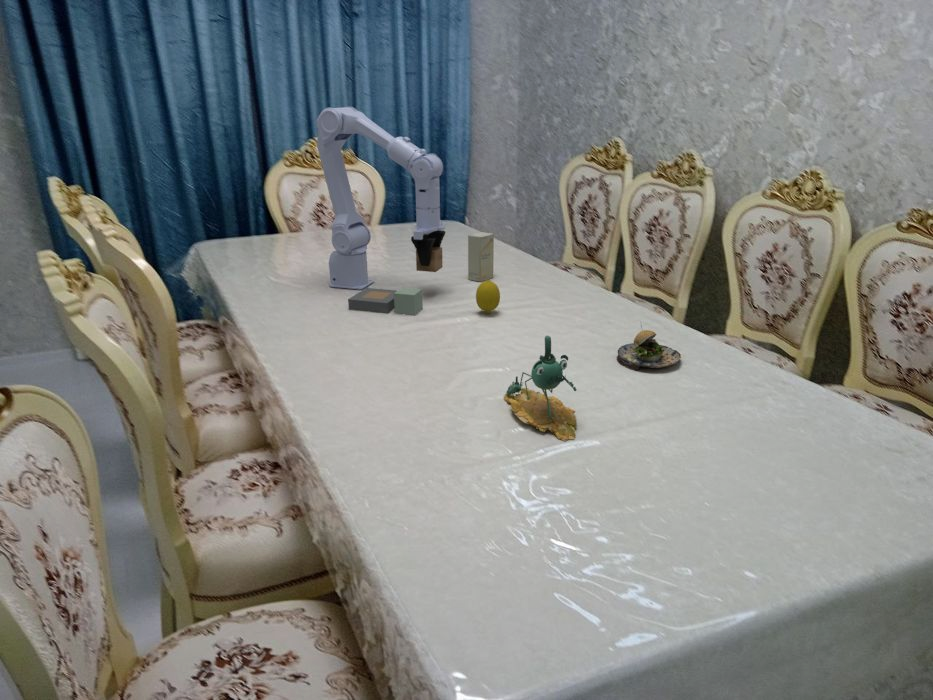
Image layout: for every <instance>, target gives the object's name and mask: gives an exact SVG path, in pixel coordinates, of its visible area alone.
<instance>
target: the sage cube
mask: <svg viewBox="0 0 933 700" xmlns="http://www.w3.org/2000/svg"><path fill="white" fill-rule="evenodd" d="M423 305H424V304H423V288H415V287H413V288H412V287H405V286H402V287H401V288H399V289H398V290H397V291H396V292H395V293H394V308H395V309H394V314H395V315H403V314H405V316H412V315H413V316H417V315H418V314H419V313H420V312H421V311H422V310H423V309H424V307H423Z"/></svg>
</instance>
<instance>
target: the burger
mask: <svg viewBox="0 0 933 700" xmlns="http://www.w3.org/2000/svg"><path fill="white" fill-rule="evenodd" d="M640 323H642V322H641V321H640ZM640 326H641V328H643V325H642V324H640ZM641 330H642V331H639V332H638V333H637V334H636V336H635V337H634V339H633V342H632V343H627V344H623V345H621V346H620V347H619V348H618V350H617V356H616V361H617V363H618V364H619V365H620V366H622V367H625V368H626V369H630V370H632V371H636V372H637V370H638V369H639V368H640V367H642V368H651V369H660V368H661V369H662V368H665V367H670V366H672V365H674V364H676V363H678V362H680V359H681V358H682V355H681V353H680V352H678V350H675V349H673V348H671V347H669V346H666V345H663V344H659V343H658V341H657V339H656V338H655V337H656V336H657V333H656V331H655V332H654V331H653V330H649V329H645V330H643V329H641Z"/></svg>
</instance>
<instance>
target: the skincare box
mask: <svg viewBox="0 0 933 700" xmlns="http://www.w3.org/2000/svg"><path fill="white" fill-rule="evenodd" d="M494 235H495V234H494V233H491V232H484V231H480V232H476V233H473V234H472V233H471V234H468V235H467V241H468V243H467V245H468V246H467V248H468V250H467V252H468V253H467V255H468V256H467V257H468V258H467V264H468V265H467V269H468V273H467V274H468V275H467V278H468V280H470V281H473V282H481V283H482V282H485V281H486V280H490V279H492V278H494V244H495V243H494V239H495V238H494V237H495V236H494Z"/></svg>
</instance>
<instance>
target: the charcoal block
mask: <svg viewBox="0 0 933 700" xmlns="http://www.w3.org/2000/svg"><path fill="white" fill-rule="evenodd" d="M396 291H398V290H395V289H385V288H374V287H365V288H364V289H361V291H359V292H358V293H356V294H354V295H353V296H350V298H348V299H347V303H348V310H349V311H356V312H357V311H358V312H367V313H378V314H386V315H387V314H389V313H391V312H392V311H395V308H394V293H395V292H396Z"/></svg>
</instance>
